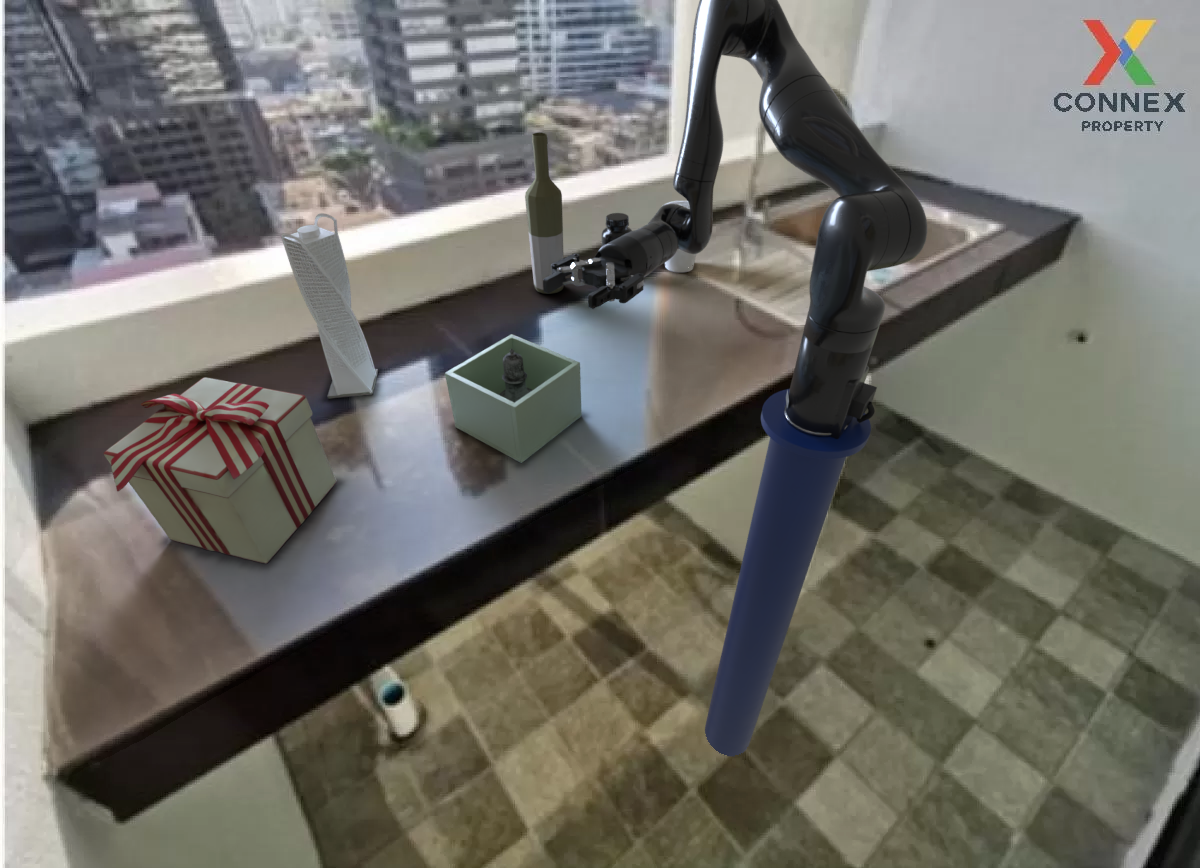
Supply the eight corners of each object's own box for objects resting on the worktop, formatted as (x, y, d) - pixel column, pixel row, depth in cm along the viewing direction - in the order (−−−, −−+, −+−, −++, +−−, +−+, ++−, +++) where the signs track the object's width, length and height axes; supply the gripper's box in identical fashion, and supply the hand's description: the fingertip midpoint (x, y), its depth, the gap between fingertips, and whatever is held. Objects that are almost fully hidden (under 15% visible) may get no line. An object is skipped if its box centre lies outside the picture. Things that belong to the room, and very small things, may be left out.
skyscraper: (386, 370, 103) (341, 204, 86) (381, 397, 97) (330, 225, 79) (335, 374, 102) (279, 208, 85) (326, 402, 96) (263, 229, 78)
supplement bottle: (630, 263, 137) (632, 210, 129) (634, 276, 132) (635, 221, 124) (600, 264, 137) (600, 211, 129) (602, 277, 131) (602, 222, 124)
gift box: (142, 567, 71) (57, 458, 60) (241, 463, 85) (187, 359, 74) (273, 588, 69) (209, 478, 58) (352, 478, 83) (314, 372, 72)
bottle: (572, 290, 127) (566, 134, 108) (545, 300, 123) (534, 141, 104) (553, 278, 131) (544, 127, 112) (526, 288, 128) (512, 133, 108)
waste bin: (581, 416, 93) (580, 362, 87) (521, 463, 85) (514, 407, 79) (517, 386, 99) (511, 333, 93) (455, 427, 91) (444, 372, 85)
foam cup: (686, 279, 130) (691, 219, 122) (650, 268, 135) (653, 209, 127) (707, 264, 136) (714, 206, 128) (672, 254, 141) (677, 197, 132)
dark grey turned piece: (523, 433, 89) (516, 364, 81) (491, 421, 91) (481, 353, 83) (546, 412, 93) (540, 344, 85) (514, 401, 95) (507, 334, 87)
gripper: (595, 226, 99) (528, 258, 89) (668, 246, 93) (605, 283, 83) (595, 269, 104) (532, 304, 94) (665, 291, 97) (606, 331, 87)
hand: (567, 294), depth 88 cm, fingers open, 8 cm apart
